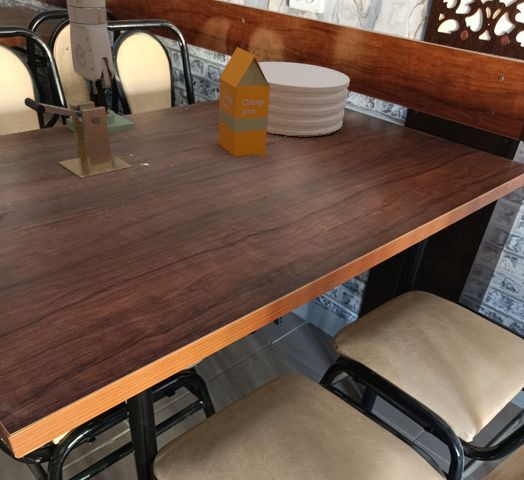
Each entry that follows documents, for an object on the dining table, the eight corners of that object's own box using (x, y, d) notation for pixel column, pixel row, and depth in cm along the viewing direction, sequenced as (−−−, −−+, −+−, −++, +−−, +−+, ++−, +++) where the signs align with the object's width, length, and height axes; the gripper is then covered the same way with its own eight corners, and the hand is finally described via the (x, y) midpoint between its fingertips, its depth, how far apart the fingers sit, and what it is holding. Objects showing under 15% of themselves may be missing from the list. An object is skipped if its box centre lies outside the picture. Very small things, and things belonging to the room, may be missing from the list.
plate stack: (362, 126, 137) (371, 79, 130) (294, 144, 121) (300, 92, 113) (286, 101, 151) (290, 58, 144) (216, 115, 135) (217, 67, 128)
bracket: (81, 183, 94) (70, 116, 87) (59, 168, 99) (47, 103, 92) (132, 171, 100) (127, 108, 93) (109, 157, 105) (102, 96, 98)
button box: (88, 140, 112) (86, 122, 110) (67, 128, 117) (64, 110, 115) (135, 132, 119) (134, 114, 116) (113, 121, 124) (111, 103, 122)
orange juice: (248, 144, 118) (253, 46, 106) (265, 157, 112) (273, 55, 100) (217, 147, 115) (219, 46, 103) (233, 160, 109) (237, 55, 97)
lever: (36, 116, 85) (37, 100, 84) (23, 108, 88) (24, 93, 86) (101, 127, 94) (103, 114, 93) (88, 120, 96) (89, 107, 95)
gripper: (53, 11, 106) (68, 105, 117) (89, 22, 98) (101, 122, 109) (86, 10, 110) (98, 101, 122) (123, 21, 102) (131, 117, 114)
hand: (99, 111), depth 116 cm, fingers closed
